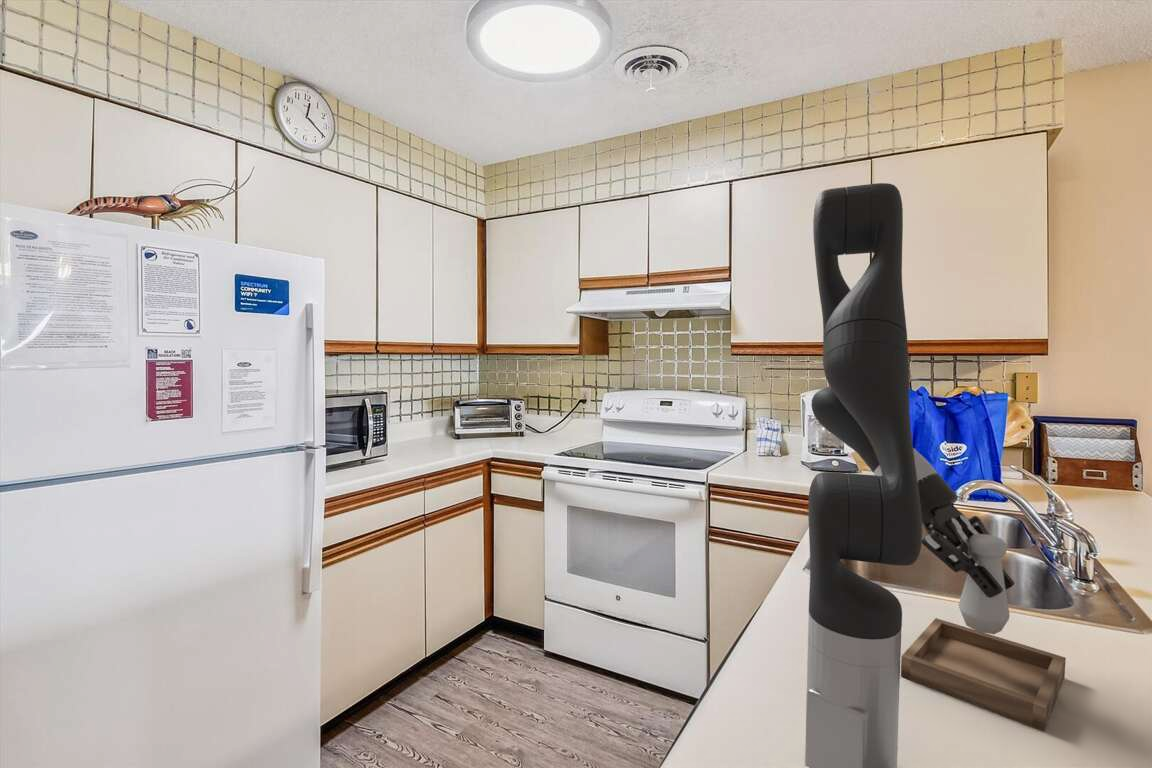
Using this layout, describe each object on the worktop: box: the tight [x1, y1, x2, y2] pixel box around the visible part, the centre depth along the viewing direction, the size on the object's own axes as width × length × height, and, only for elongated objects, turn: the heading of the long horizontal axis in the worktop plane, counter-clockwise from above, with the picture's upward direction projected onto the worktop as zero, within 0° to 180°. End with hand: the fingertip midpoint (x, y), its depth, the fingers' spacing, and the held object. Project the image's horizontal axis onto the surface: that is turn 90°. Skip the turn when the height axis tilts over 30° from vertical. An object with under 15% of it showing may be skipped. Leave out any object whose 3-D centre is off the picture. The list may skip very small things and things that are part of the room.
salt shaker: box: [958, 534, 1011, 635], centre depth 80 cm, size 6×6×13 cm
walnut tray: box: [900, 617, 1066, 732], centre depth 81 cm, size 16×16×3 cm
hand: (1002, 590), depth 79 cm, fingers closed on salt shaker, 3 cm apart
